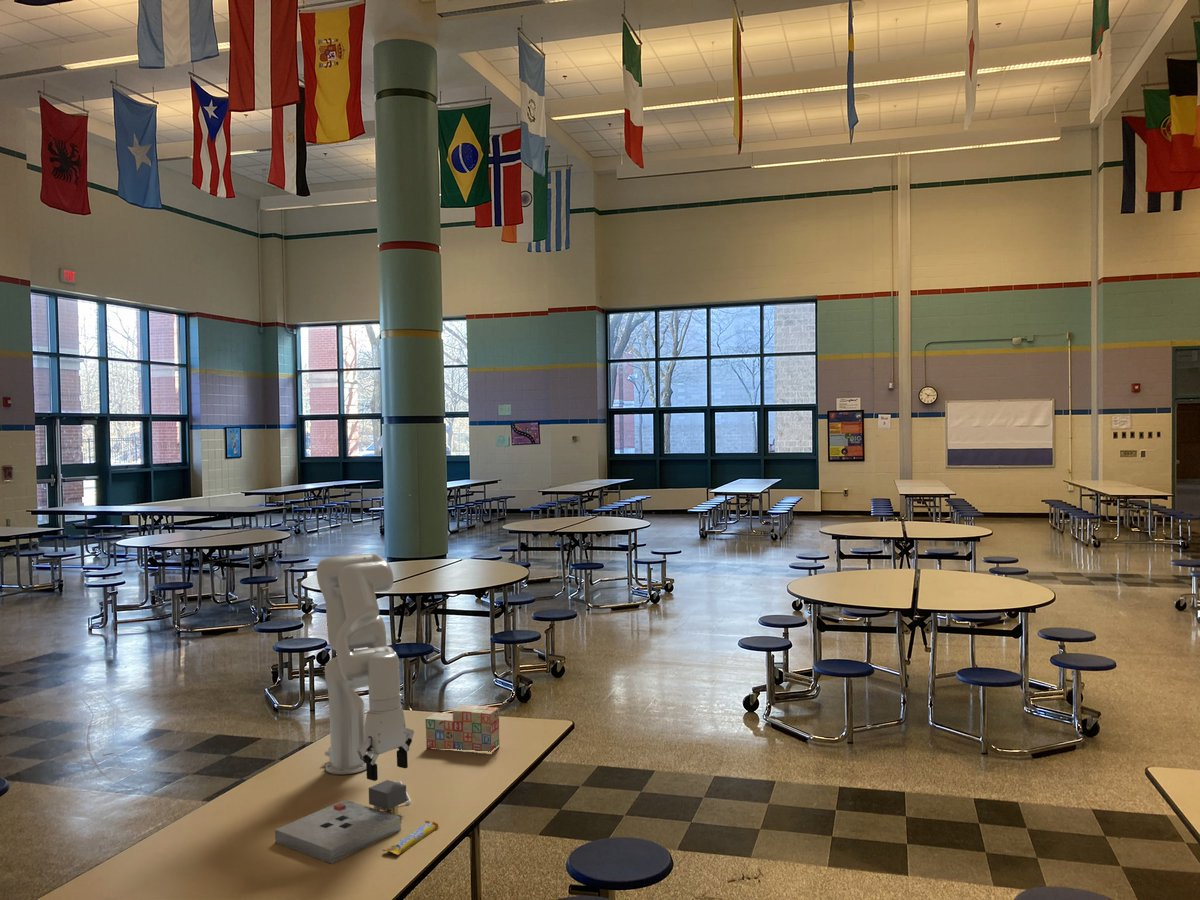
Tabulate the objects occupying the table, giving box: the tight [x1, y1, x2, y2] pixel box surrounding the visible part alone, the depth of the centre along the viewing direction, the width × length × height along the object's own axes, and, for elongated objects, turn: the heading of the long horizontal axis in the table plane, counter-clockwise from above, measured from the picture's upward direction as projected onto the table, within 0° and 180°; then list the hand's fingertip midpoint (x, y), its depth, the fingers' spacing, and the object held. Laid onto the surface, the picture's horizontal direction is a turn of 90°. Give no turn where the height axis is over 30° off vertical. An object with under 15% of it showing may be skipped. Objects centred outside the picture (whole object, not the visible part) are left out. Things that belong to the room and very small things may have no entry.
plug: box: [368, 779, 407, 816], centre depth 221 cm, size 9×6×7 cm, turn 55°
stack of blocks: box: [425, 704, 500, 752], centre depth 265 cm, size 21×6×12 cm, turn 73°
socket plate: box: [274, 799, 402, 865], centre depth 208 cm, size 20×20×4 cm
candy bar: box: [382, 820, 440, 856], centre depth 204 cm, size 17×4×2 cm, turn 155°
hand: (387, 773), depth 219 cm, fingers open, 9 cm apart
